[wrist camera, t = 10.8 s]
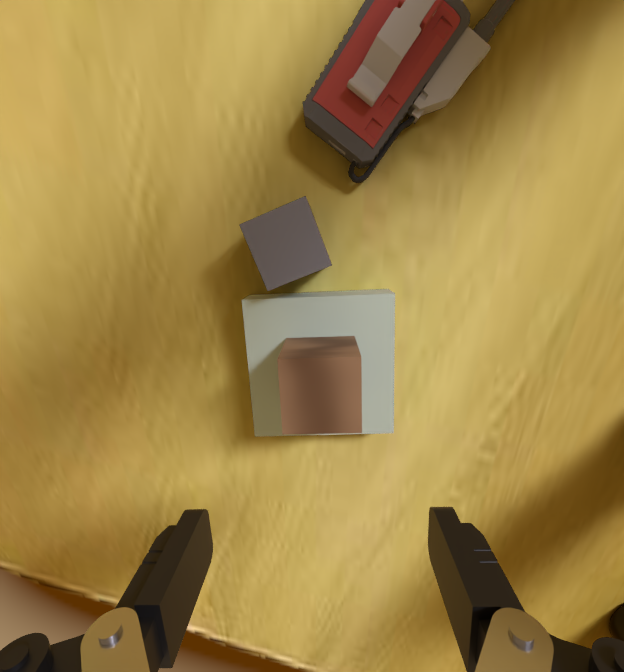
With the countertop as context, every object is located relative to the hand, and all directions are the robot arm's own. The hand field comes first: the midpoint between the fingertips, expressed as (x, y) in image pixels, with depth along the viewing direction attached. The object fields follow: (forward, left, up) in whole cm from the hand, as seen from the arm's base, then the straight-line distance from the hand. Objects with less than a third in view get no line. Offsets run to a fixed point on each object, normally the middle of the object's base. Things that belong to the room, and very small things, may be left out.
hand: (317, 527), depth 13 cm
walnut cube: (0, 0, -17) cm, 17 cm away
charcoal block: (+2, -10, -20) cm, 22 cm away
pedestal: (0, 0, -20) cm, 20 cm away
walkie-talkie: (-8, -23, -21) cm, 32 cm away
